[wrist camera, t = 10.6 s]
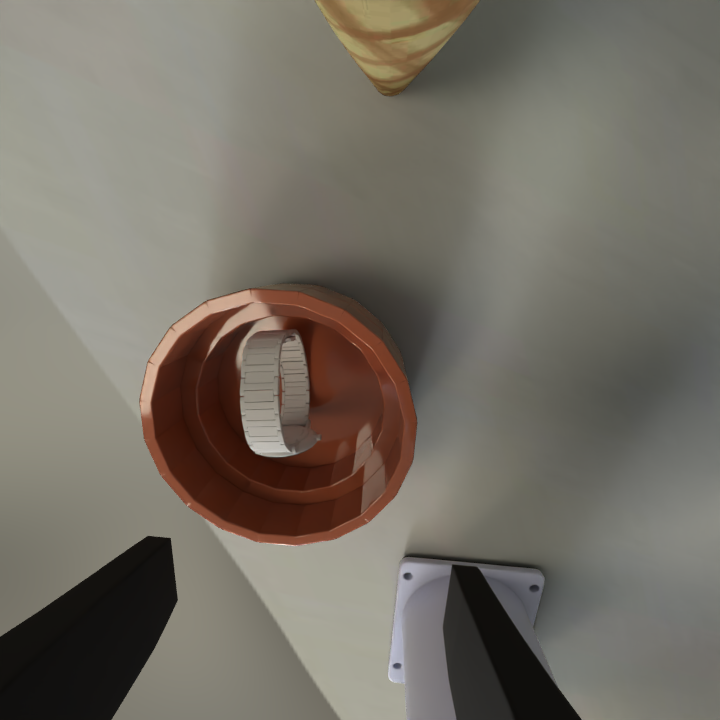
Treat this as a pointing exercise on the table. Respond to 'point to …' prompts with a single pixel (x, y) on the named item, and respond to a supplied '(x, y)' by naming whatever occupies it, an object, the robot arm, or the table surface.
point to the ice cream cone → (394, 35)
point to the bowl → (327, 413)
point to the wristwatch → (262, 408)
